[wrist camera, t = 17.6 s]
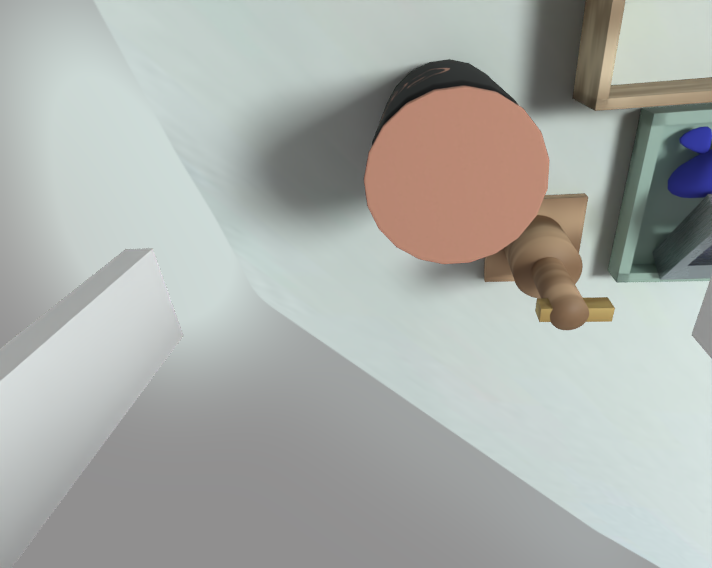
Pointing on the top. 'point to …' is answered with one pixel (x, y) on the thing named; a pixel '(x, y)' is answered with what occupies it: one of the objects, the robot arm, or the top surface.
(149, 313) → the robot arm
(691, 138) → the fish toy
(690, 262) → the gray rectangular frame
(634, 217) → the tray
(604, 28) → the crate
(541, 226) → the handle
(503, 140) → the coffee jar
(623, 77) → the top surface
